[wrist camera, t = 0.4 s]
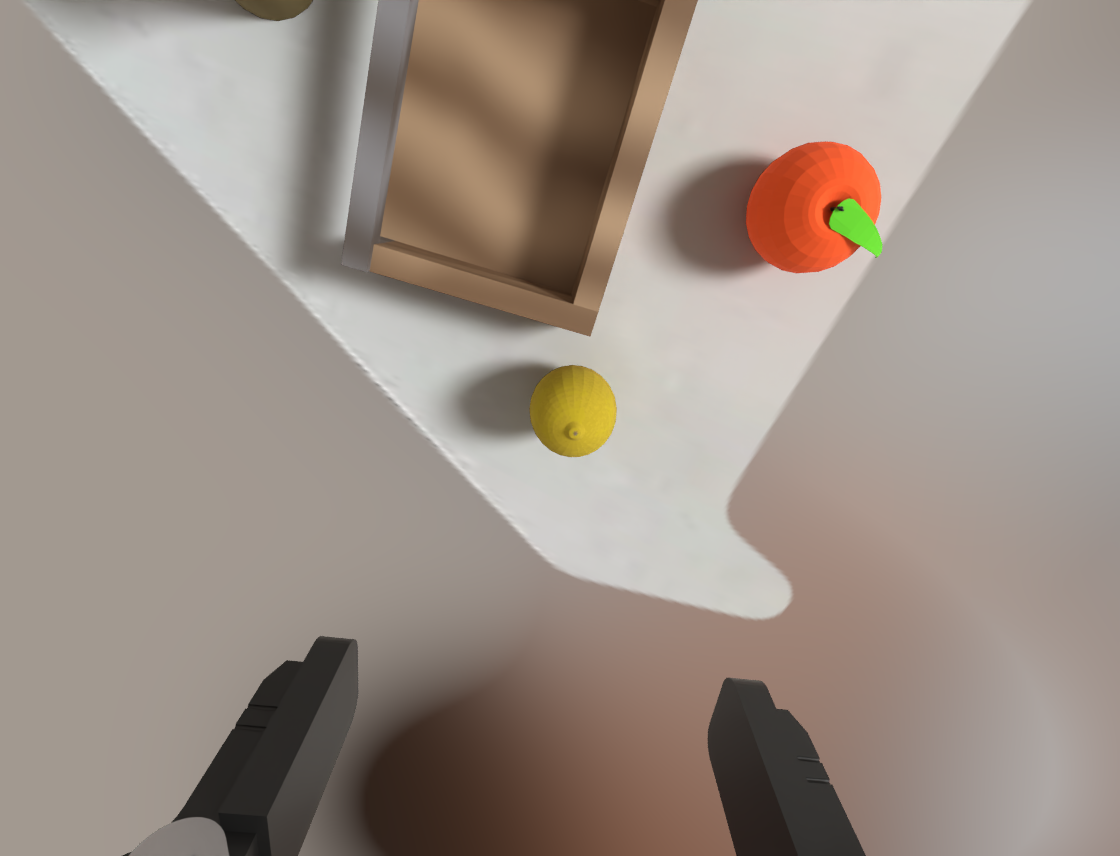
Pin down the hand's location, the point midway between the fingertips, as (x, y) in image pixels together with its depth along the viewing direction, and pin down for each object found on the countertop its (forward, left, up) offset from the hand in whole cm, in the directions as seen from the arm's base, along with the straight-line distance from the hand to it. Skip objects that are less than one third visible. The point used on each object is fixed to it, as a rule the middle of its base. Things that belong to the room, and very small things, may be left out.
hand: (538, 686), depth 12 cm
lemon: (+2, +2, -28) cm, 28 cm away
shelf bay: (-13, -6, -28) cm, 31 cm away
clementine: (-13, +12, -28) cm, 33 cm away
